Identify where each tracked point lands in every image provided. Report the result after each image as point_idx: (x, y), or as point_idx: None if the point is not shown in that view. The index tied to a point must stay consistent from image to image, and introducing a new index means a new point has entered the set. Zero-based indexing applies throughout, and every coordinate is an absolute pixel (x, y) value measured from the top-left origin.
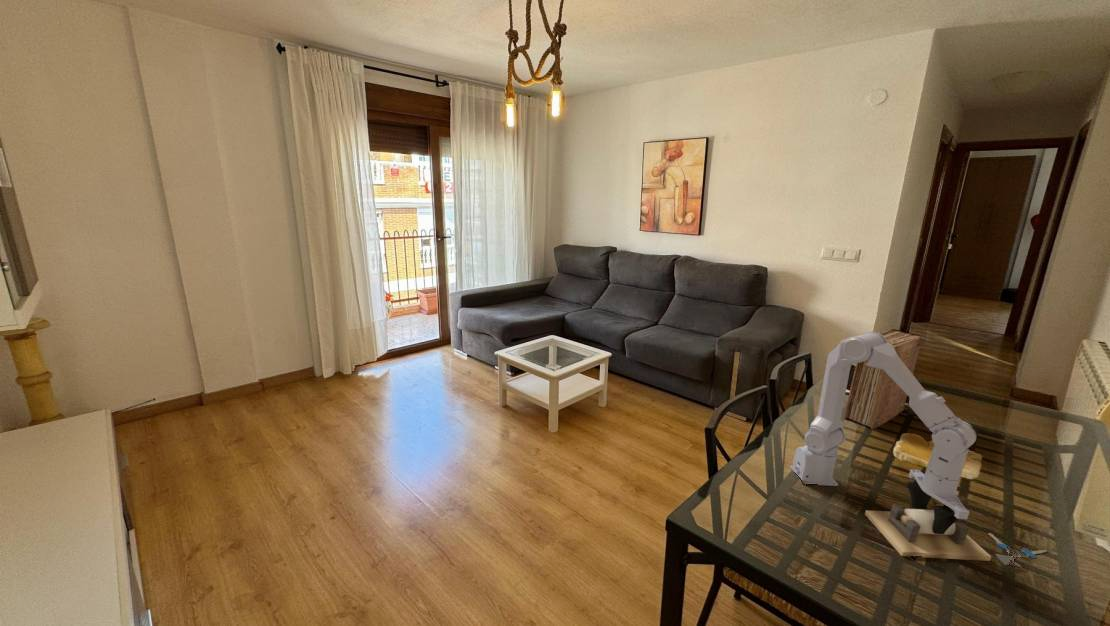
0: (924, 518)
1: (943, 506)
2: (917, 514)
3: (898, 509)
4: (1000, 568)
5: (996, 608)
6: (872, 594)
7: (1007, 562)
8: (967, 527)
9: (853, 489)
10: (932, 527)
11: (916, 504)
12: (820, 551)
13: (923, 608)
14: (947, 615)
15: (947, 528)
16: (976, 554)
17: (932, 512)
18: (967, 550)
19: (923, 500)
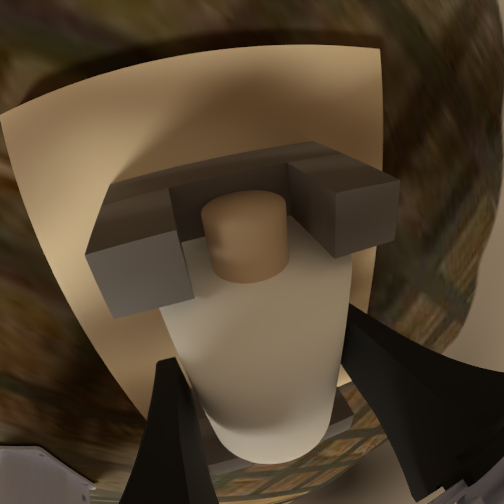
0: (327, 421)
1: (447, 486)
2: (310, 446)
3: (245, 464)
4: (393, 41)
5: (488, 206)
6: None
7: None
8: (386, 183)
9: (18, 418)
10: (344, 369)
11: (202, 451)
12: (325, 453)
13: (449, 342)
14: (468, 311)
15: (384, 328)
16: (374, 120)
17: (291, 412)
18: (354, 150)
19: (197, 470)
